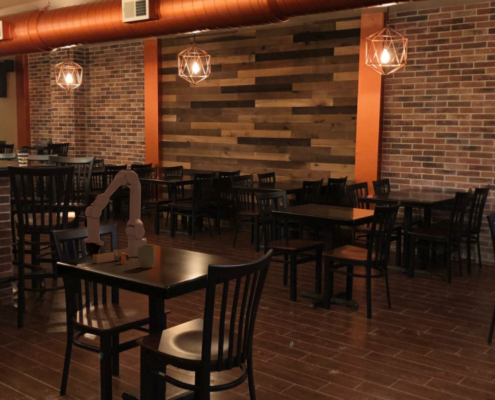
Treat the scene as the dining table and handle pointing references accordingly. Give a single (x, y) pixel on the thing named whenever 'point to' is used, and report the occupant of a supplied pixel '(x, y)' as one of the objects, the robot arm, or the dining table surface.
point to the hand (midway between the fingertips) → (94, 258)
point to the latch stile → (123, 258)
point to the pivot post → (116, 254)
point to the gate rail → (103, 257)
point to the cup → (146, 256)
